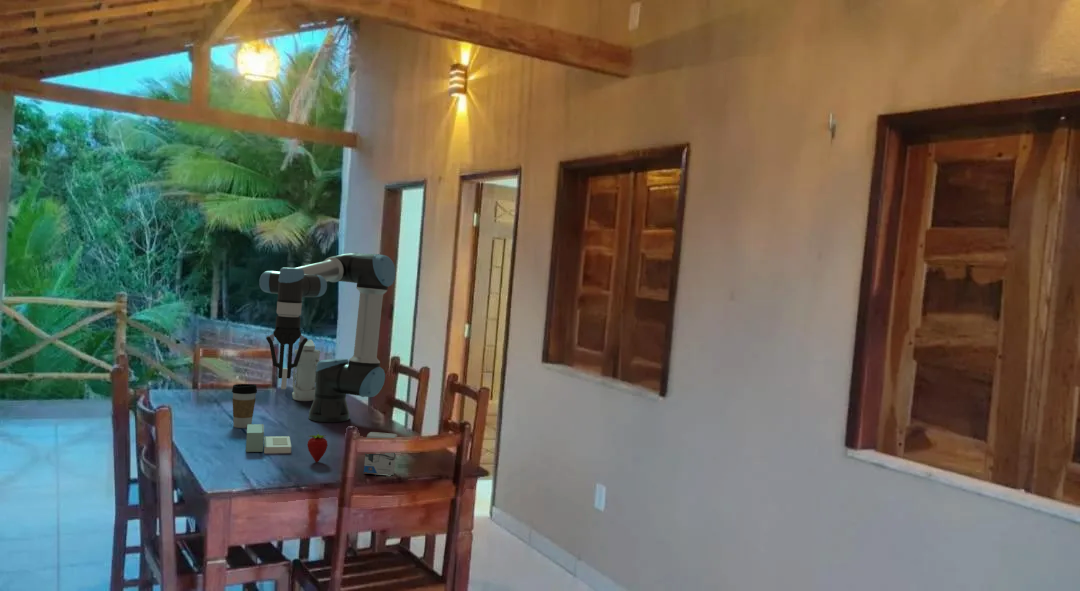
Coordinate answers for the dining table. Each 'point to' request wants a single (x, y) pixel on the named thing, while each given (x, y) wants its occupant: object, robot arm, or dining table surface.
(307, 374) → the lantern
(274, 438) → the cream flat block
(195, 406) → the dining table surface
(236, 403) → the coffee cup
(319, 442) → the strawberry
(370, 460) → the ink box
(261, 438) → the grey rectangular block
